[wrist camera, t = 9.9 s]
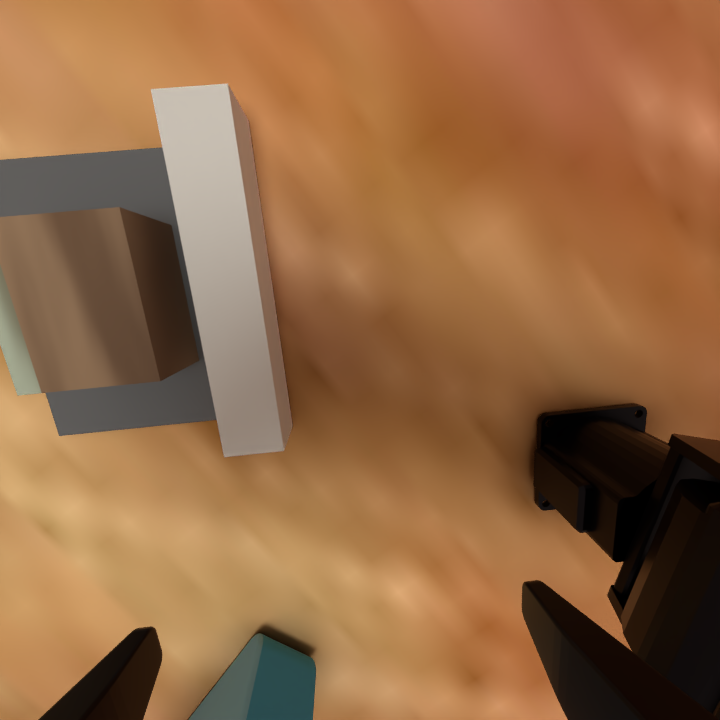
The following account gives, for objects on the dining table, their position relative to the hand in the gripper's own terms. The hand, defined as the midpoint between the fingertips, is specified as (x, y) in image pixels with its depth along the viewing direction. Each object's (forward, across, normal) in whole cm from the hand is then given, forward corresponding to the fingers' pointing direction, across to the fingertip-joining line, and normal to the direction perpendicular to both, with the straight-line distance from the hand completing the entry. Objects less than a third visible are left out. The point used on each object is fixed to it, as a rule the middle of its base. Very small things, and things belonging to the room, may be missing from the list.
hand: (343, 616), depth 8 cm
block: (+10, +8, -8) cm, 15 cm away
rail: (+12, +4, -8) cm, 15 cm away
